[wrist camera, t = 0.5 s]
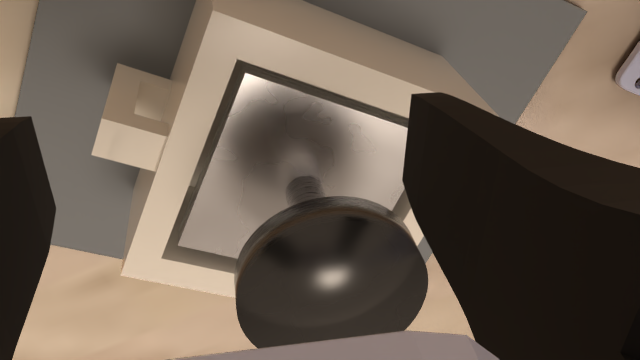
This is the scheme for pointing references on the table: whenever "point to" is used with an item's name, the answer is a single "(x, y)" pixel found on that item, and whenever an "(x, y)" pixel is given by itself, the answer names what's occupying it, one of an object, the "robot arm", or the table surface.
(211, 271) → the press body
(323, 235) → the plunger
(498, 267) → the robot arm
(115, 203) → the slate mat
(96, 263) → the table surface
